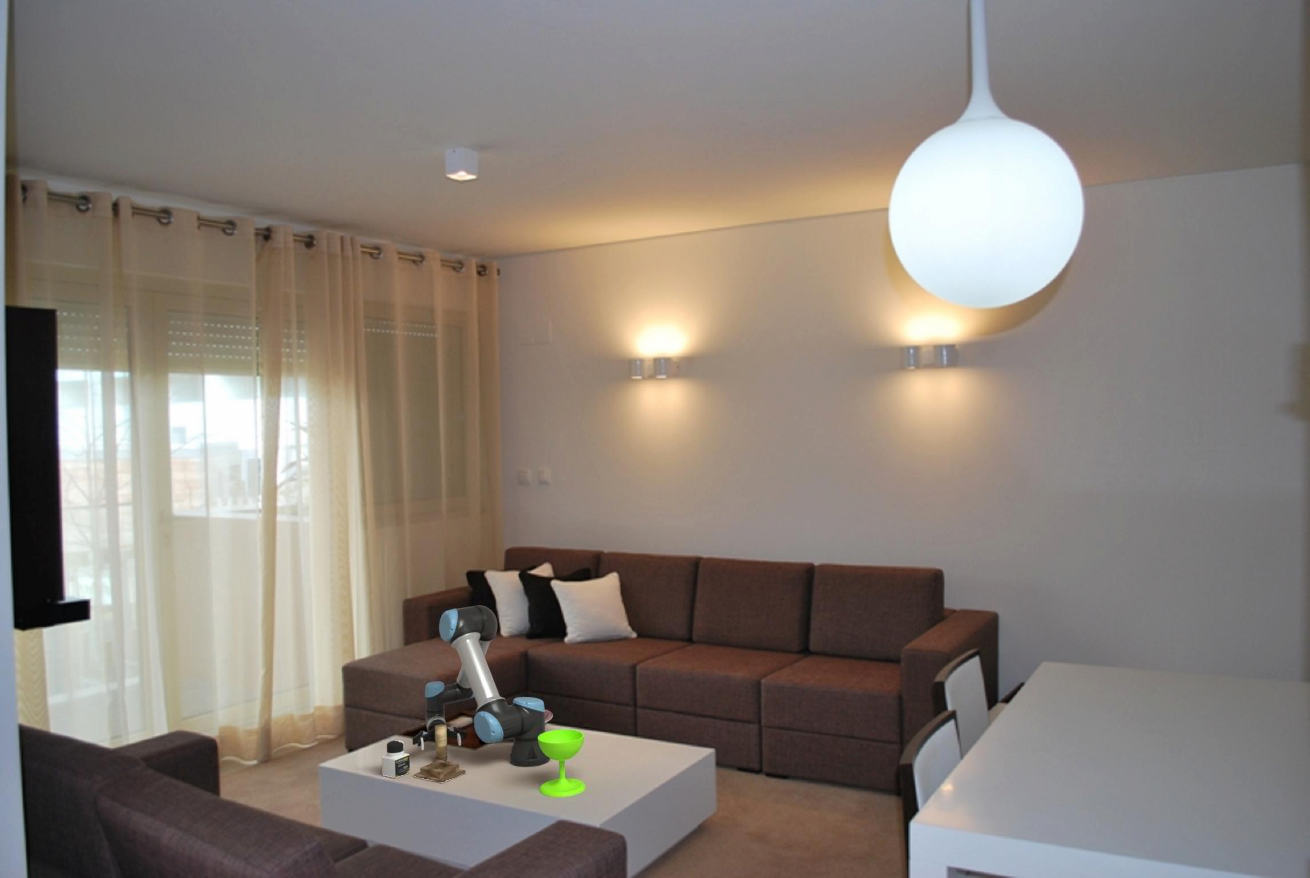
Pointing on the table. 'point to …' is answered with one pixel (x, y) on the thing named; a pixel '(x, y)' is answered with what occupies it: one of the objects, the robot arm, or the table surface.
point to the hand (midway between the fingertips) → (441, 744)
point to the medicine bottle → (395, 760)
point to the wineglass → (561, 760)
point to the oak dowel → (441, 742)
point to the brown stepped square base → (440, 771)
